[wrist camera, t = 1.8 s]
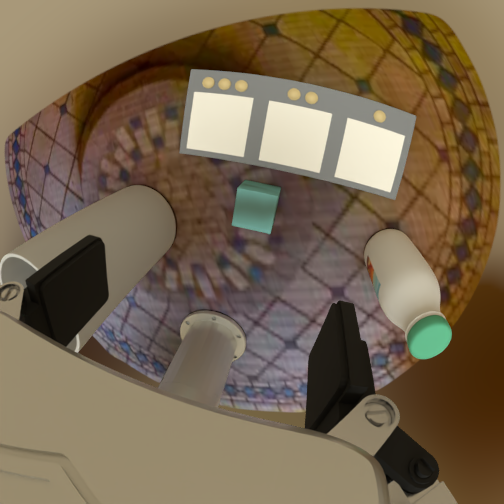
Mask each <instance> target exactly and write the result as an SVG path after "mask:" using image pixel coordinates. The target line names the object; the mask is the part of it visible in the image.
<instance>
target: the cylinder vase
mask: <svg viewBox="0 0 504 504" xmlns="http://www.w3.org/2000/svg"><path fill="white" fill-rule="evenodd" d="M175 233H176V223H175V218H174V214H173V212H172V209H171V207H170V206H169V204H168V202H167V201H166V200H165V199H164V198H163V196H161V195H160V194H159V193H158V192H157V191H155V190H153V189H151V188H149V187H146V186H142V185H133V186H129V187H126V188H124V189H122V190H120V191H117V192H115V193H113V194H111V195H109V196H107V197H105V198H103V199H101V200H99V201H97V202H95V203H93V204H91V205H90V206H88V207H86V208H84V209H82V210H80V211H78V212H76V213H75V214H73V215H71V216H69V217H67V218H65V219H64V220H62V221H60V222H58V223H57V224H55V225H53V226H51V227H50V228H48V229H46V230H45V231H43V232H41V233H40V234H38V235H36V236H35V237H33V238H32V239H30V240H28V241H27V242H25V243H24V244H22V245H20V246H19V247H17V248H16V249H14V250H13V251H11V252H10V253H8V254H7V255H5V256H4V257H3V258H2V260H1V263H0V282H1V285H2V284H4V283H6V282H11V281H16V282H19V283H21V284H22V285H23V287H24V289H25V288H26V287H27V285H26V282H25V280H26V279H27V278H29V277H30V276H31V275H32V274H34V273H35V272H36V271H38V270H39V269H40V268H42V267H43V266H44V265H46V264H47V263H48V262H50V261H51V260H53V259H54V258H55V257H57V256H58V255H60V254H61V253H62V252H64V251H65V250H67V249H68V248H70V247H71V246H72V245H74V244H75V243H77V242H78V241H80V240H81V239H83V238H84V237H86V236H87V235H93V236H97V237H100V238H101V239H102V241H103V242H104V244H105V254H106V268H107V280H108V290H109V298H108V300H107V302H106V303H105V304H104V305H103V306H102V307H101V309H100V310H99V311H98V312H97V313H96V314H95V315H94V316H93V317H92V318H91V319H90V321H89V322H88V323H87V324H86V325H85V326H84V327H83V328H82V329H81V331H80V332H79V333H78V334H77V335H76V336H75V337H74V339H73V340H72V341H71V342H70V343H69V344H68V345H67V348H69V349H71V350H73V351H75V352H77V353H78V352H79V351H80V349H81V348H82V347H83V346H84V344H85V343H86V342H87V341H88V340H89V338H90V337H91V336H92V335H93V334H94V332H95V331H96V330H97V329H98V328H99V326H100V325H101V324H102V323H103V322H104V321H105V319H106V318H107V317H108V316H109V315H110V314H111V312H112V311H113V310H114V309H115V308H116V307H117V306H118V304H119V303H120V302H121V301H122V300H123V299H124V298H125V296H126V295H127V294H128V293H129V292H130V291H131V290H132V289H133V288H134V286H135V285H136V284H137V283H138V282H139V281H140V280H141V279H142V278H143V277H144V275H145V274H146V273H147V272H148V271H149V270H150V269H151V268H152V267H153V266H154V265H155V264H156V263H157V261H158V260H159V259H160V258H161V257H162V256H163V255H164V254H165V253H166V252H167V251H168V250H169V248H170V247H171V245H172V244H173V241H174V238H175Z"/></svg>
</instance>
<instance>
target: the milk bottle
mask: <svg viewBox="0 0 504 504" xmlns="http://www.w3.org/2000/svg"><path fill="white" fill-rule="evenodd" d="M364 260H365V264H366V267H367V270H368V272H369V275H370V278H371V281H372V284H373V287H374V289H375V292H376V295H377V298H378V300H379V303H380V305H381V308H382V310H383V311H384V313H385V315H386V316H387V317H388V318H389V320H390V321H391V322H393V323H394V324H395V325H397V326H398V327H400V328H401V329H402V330H404V332H405V338H406V341H407V344H408V348H409V350H410V352H411V354H412V355H413V356H414V357H416V358H419V359H427V358H431V357H434V356H436V355H438V354H439V353H441V352H442V351H443V350H444V349H445V348H446V347H447V346H448V344H449V342H450V340H451V335H452V333H451V328H450V326H449V324H448V322H447V321H446V319H445V316H444V315H443V314H442V313H440V289H439V284H438V281H437V279H436V277H435V275H434V273H433V271H432V270H431V268H430V266H429V265H428V264H427V262H426V261H425V259H424V258H423V256H422V255H421V254H420V252H419V251H418V250H417V248H416V247H415V245H414V244H413V243H412V242H411V240H410V239H409V238H408V237H407V236H406V235H405V234H404V233H403V232H401V231H399V230H396V229H385V230H382V231H380V232H378V233H376V234H375V235H374V236H372V238H371V239H370V240H369V241H368V243H367V245H366V247H365V251H364Z"/></svg>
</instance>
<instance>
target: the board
mask: <svg viewBox="0 0 504 504" xmlns="http://www.w3.org/2000/svg"><path fill="white" fill-rule="evenodd" d="M415 120H416V116H415V115H412V114H410V113H407V112H404V111H402V110H399V109H396V108H393V107H390V106H387V105H384V104H381V103H378V102H375V101H372V100H369V99H366V98H362V97H359V96H356V95H352V94H348V93H345V92H341V91H337V90H333V89H329V88H325V87H321V86H316V85H312V84H307V83H302V82H297V81H292V80H286V79H281V78H274V77H268V76H261V75H254V74H246V73H236V72H226V71H213V70H195V69H191V74H190V80H189V86H188V92H187V98H186V105H185V112H184V120H183V127H182V135H181V144H180V153H183V154H190V155H197V156H204V157H210V158H217V159H223V160H229V161H234V162H240V163H245V164H251V165H256V166H261V167H266V168H271V169H276V170H281V171H286V172H290V173H295V174H299V175H304V176H308V177H312V178H316V179H321V180H325V181H329V182H333V183H337V184H340V185H344V186H348V187H352V188H355V189H359V190H363V191H366V192H370V193H373V194H377V195H380V196H384V197H387V198H390V199H394V200H395V199H396V195H397V192H398V188H399V185H400V181H401V178H402V174H403V171H404V167H405V163H406V159H407V155H408V151H409V147H410V143H411V138H412V134H413V129H414V125H415Z"/></svg>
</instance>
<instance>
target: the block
mask: <svg viewBox="0 0 504 504" xmlns="http://www.w3.org/2000/svg"><path fill="white" fill-rule="evenodd" d="M280 191H281V187H278V186H273V185H268V184H263V183H259V182H254V181H249V180H245V181H244V182H243V183H242V184H241V185H240V186H239V187H238V188H237V195H236V201H235V208H234V214H233V221H232V226H236V227H241V228H246V229H250V230H255V231H259V232H264V233H268V234H271V230H272V227H273V223H274V220H275V215H276V210H277V205H278V200H279V195H280Z"/></svg>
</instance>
